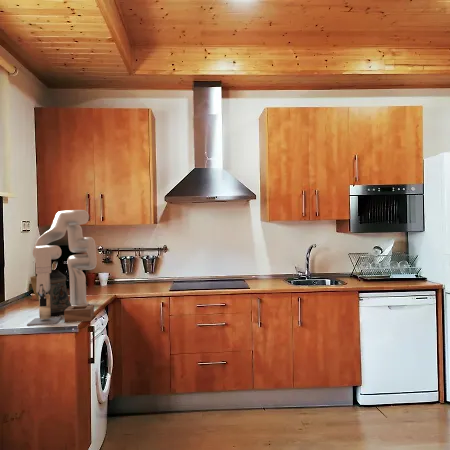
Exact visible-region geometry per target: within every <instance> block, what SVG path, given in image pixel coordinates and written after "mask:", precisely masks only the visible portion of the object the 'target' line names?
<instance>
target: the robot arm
mask: <svg viewBox="0 0 450 450" xmlns="http://www.w3.org/2000/svg"><path fill="white" fill-rule="evenodd" d="M89 216H90V215H89V212H88V211H87V210H85V209H69V210H60V211H57V212H56V213H55V215H54V218H53V220H52V222H51V225H50V228H49V229H48V230H46V231H45V232H44V233H43V234H42V235H39V237H38V238H37V240H36V241H35V244H34V247H33V249H32V256H33V258H34V259H35V260H34V261H35V274H36V276H37V285H36V292H37V293H39V294H40V306H47V301H46V294H49V290H50V273H51V270H52V260H57V259H59V258H60V257H61V256H62V252H63V251H62V249H61V247H60V246H59V245H55V244H54V245H50V243H53V242H55V241H58V240H61V239H62V238H64V237H65V236H66V233H67V239H68V249H69V251H70V252H71V253H81V254H72V255H69V256H68V258H67V261H66V263H67V268H68V275H69V300H70V303H71V305H72V306H82V305H90V303H89V302H88V301H87V284H86V283H87V281H86V280H87V279H86V274H85V273H84V272H83V271H86V270H88V271H89V270H90V271H91V270H94V269H95V268H96V267H97V264H98V263H97V262H98V261H97V260H98V259H97V246H96V241H95V239H94V238H93V237H92V236H83V228H82V226H81V225H86V224H87V223H88V222H89V219H90V217H89ZM82 253H83V254H82ZM84 253H86V254H84Z"/></svg>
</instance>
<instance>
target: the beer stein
mask: <svg viewBox="0 0 450 450" xmlns="http://www.w3.org/2000/svg"><path fill="white" fill-rule="evenodd" d="M66 281H67V276H66V275H65V274H63V273H62V272H61V271H60V270H59V269H51V273H50V290H49V295H50V309H51V317H62V316H64V310H66V309H67V308H68V307H69V306H72V305H71V303H70V296H69V293H68V290H67V288H68V287H67V285H66ZM38 295H40V294H39V293H38Z"/></svg>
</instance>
